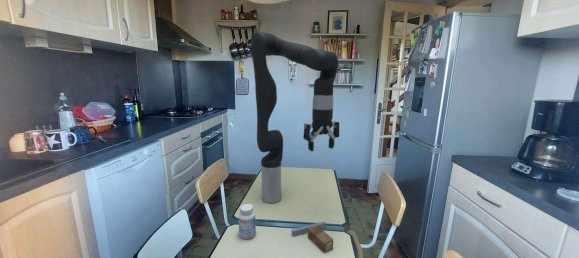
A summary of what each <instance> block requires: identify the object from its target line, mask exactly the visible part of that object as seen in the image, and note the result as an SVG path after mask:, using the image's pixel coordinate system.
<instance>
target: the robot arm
mask: <svg viewBox="0 0 579 258" xmlns="http://www.w3.org/2000/svg"><path fill="white" fill-rule="evenodd" d="M250 50H251V58H252V64H253V71H254V72H253V73H254V84H255V85H254V86H255V87H254V88H255V103H256V104H255V105H256V144H257V147H258V148H257V149H258V150H259V152H261V153H267V154H266V155H265V156H263V157H262V158H261V160H260V163H261V164H260V169H261V170H260V171H261V200H262V202H263V203H267V204H276V203H279V202H280V201H281V200H282V160H283V158H284V157H283V156H284V155H283V154H284V138H283V134H282V132H281V131H280V130H278V129H274V130H273V129H271V130H269V123H270V122H269V121H270V118H271V116H272V114H273V112H274V109H275V107H276V105H277V102H278V94H277V92H278V91H277V84H276V82H275V79H274V78H273V76H272V74H271V72H270V70H269V68H268V65H267V63H268V62H267V56H268V57H269V56H279V57H284V58H285V59H288V61H290V62H292V63H296V64H299V65H302V66H306V67H307V68H309V69H310V70H313V71H317V72H320V74H319V77H318V78H316V79H315V80H314V81H313V97H312V98H313V99H312V110H311V111H312V113H311V115H312V117H311V118H312V122H311V123H304V125H303V137H302V139H304V140H305V141H307V148H308V150H309V151H310V152H314V150H315V149H314V148H315V142H314V140H316V138H317V137H318V136H321V135H322V136H323V135H327V137H328V149H334V147H335V139H337V138H340V122H339V121H335V120H334V121H333V117H334V84H335V83H334V82H335V80H336V76H337V73H338V68H339V58H338V56H337V54H336V53H335V52H333V51H330V50H322V49H318V48H313V47H311V46H310V45H306V44H305V45H304V44H302V43H297V42H290V41H287V40H284V39H282V38H280V37H278V36H276V35H275V34H273V33H269V32H265V31H255V32H253V34H252V35H251V38H250ZM311 129H312V130H311ZM331 129H333V130H331Z"/></svg>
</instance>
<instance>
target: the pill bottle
mask: <svg viewBox="0 0 579 258" xmlns="http://www.w3.org/2000/svg"><path fill="white" fill-rule="evenodd" d="M256 224H257V223H256V213H255V211H254V206H253V205H252V204H251V203H245V204H242V205H241V206H240V208H239V213H238V233H239V237H240V238H241V239H244V240H249V239H253V238H254V237H255V236H256V234H257V232H256V231H257V227H256Z"/></svg>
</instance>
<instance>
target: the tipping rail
mask: <svg viewBox="0 0 579 258" xmlns="http://www.w3.org/2000/svg"><path fill="white" fill-rule="evenodd" d="M316 225H317V226H318V227H320V228H321V229H322V230H323V229H326V228H327V222H326V221H321V222H316V223H313V224H309V225H306V226H305V225H304V226H301V227H297V228H294V229H291V236H292V237H297V236H301V235H305V234H308V229H309V228H311V227H314V226H316Z"/></svg>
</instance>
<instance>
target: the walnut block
mask: <svg viewBox="0 0 579 258" xmlns="http://www.w3.org/2000/svg"><path fill="white" fill-rule="evenodd" d="M307 239H308V240H309V241H310V242H312V244H314V245H315V247H317V248H318V249H319V250H320V252H322V253H324V254H325V253H327V252H329V251H332V250H333V249H334V238H333V237H332V236H330V235H329V234H328V233H327V232H325V231H324V230H323V229H321V228H320V227H318V226H317V225H316V226H314V227H311V228H309V229H308V233H307Z"/></svg>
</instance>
